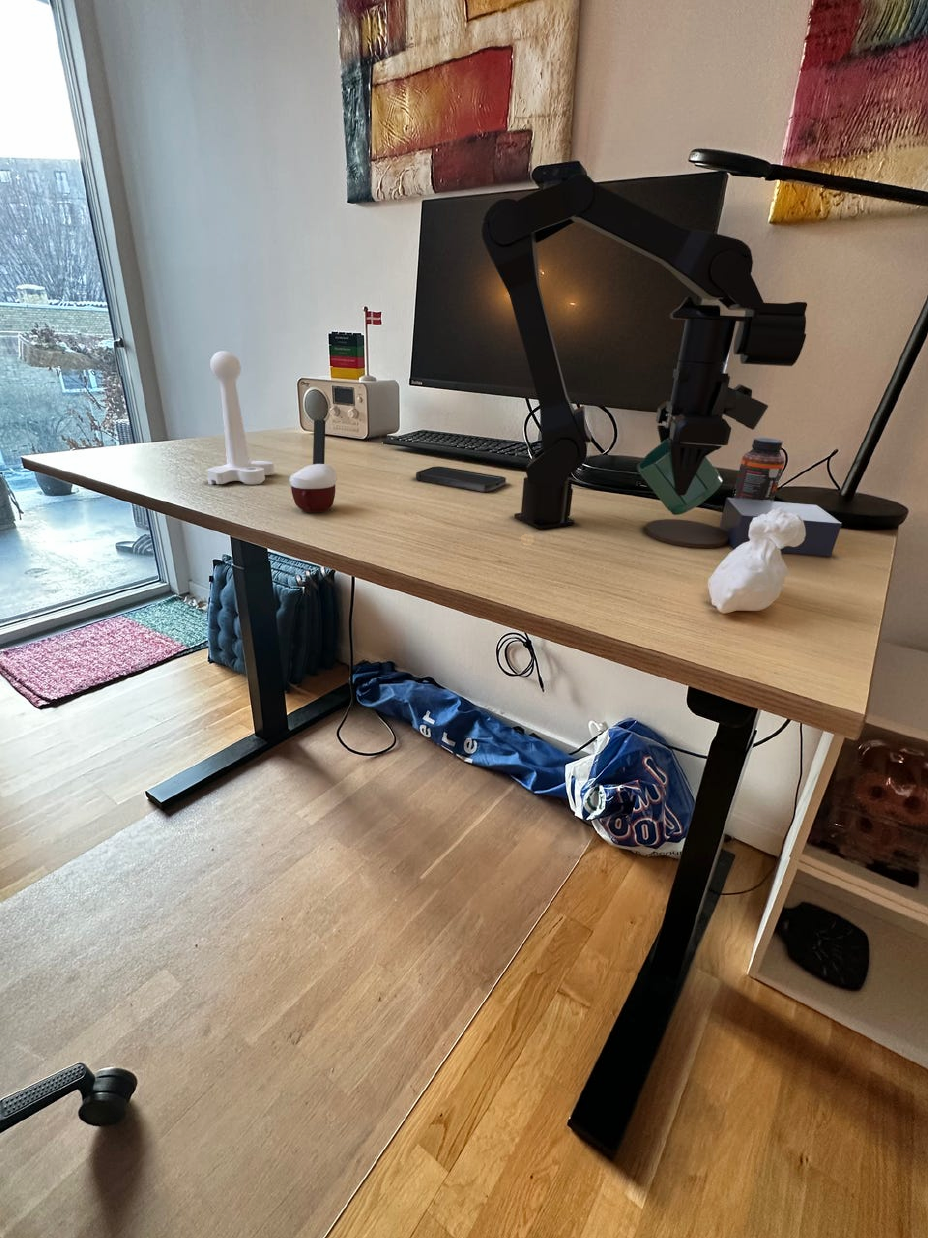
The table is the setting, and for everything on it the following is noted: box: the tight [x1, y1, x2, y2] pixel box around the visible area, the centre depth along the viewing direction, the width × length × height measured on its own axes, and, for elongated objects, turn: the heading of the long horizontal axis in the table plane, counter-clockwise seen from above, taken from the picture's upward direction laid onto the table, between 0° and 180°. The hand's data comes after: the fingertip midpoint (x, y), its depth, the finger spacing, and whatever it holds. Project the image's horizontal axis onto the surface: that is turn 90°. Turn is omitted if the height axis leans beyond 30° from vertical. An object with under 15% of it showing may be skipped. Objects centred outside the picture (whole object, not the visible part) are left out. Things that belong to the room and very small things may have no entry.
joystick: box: [205, 350, 276, 486], centre depth 94 cm, size 11×8×20 cm
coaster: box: [645, 518, 729, 549], centre depth 81 cm, size 11×11×1 cm
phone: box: [415, 465, 507, 493], centre depth 103 cm, size 8×1×15 cm
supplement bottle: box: [732, 437, 785, 502], centre depth 90 cm, size 6×6×11 cm
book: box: [718, 497, 843, 558], centre depth 79 cm, size 12×9×4 cm
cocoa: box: [288, 418, 338, 513], centre depth 83 cm, size 10×6×12 cm, turn 153°
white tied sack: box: [707, 508, 806, 614], centre depth 58 cm, size 12×8×11 cm
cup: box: [636, 437, 723, 516], centre depth 78 cm, size 8×8×8 cm
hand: (676, 487), depth 79 cm, fingers closed on cup, 7 cm apart
